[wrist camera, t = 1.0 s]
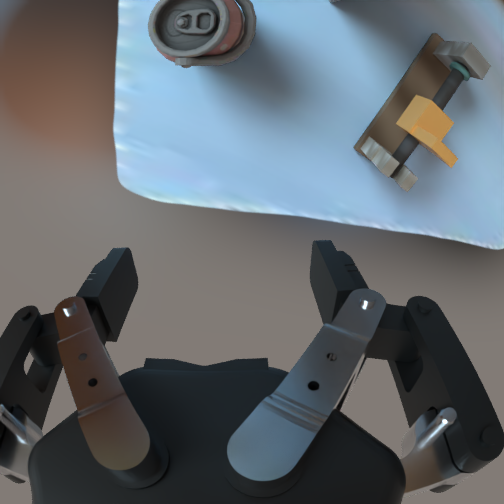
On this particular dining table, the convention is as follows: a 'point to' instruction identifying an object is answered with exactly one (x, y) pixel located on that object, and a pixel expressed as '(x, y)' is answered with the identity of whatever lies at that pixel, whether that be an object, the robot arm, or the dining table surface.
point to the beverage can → (202, 30)
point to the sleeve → (428, 127)
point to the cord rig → (412, 83)
